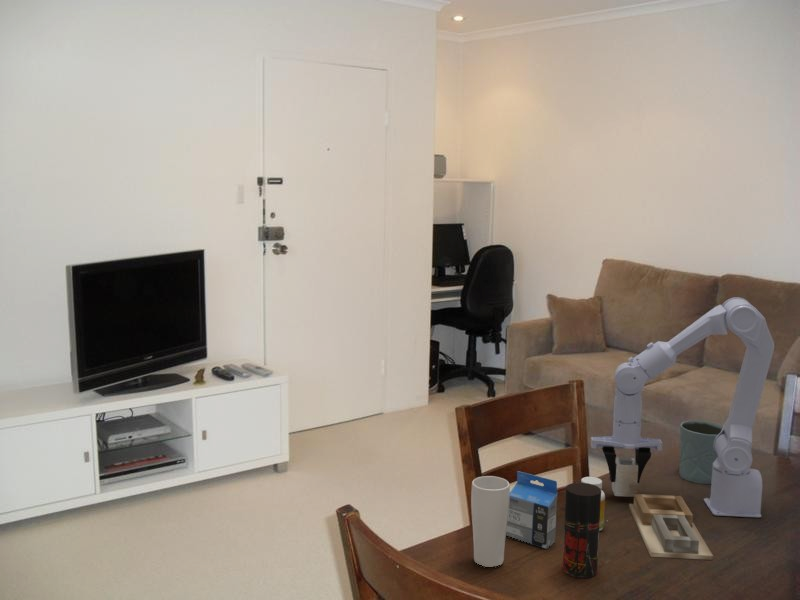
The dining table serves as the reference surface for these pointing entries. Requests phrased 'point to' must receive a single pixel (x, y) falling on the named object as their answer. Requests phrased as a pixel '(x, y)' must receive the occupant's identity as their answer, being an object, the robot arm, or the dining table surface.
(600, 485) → the supplement bottle
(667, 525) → the socket board
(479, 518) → the drinking glass
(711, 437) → the green plant pot
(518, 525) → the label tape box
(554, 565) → the dining table surface
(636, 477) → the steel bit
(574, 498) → the deodorant
